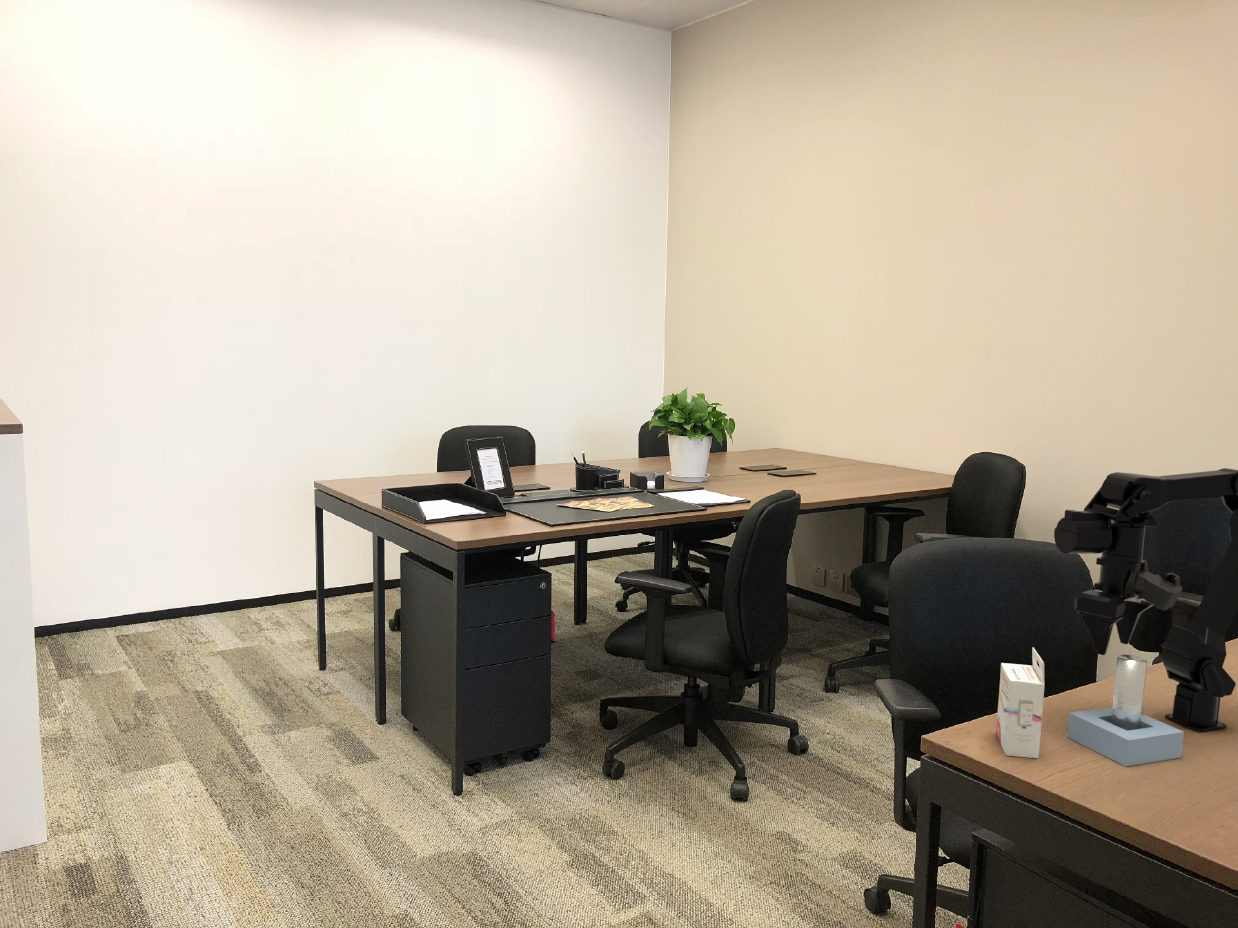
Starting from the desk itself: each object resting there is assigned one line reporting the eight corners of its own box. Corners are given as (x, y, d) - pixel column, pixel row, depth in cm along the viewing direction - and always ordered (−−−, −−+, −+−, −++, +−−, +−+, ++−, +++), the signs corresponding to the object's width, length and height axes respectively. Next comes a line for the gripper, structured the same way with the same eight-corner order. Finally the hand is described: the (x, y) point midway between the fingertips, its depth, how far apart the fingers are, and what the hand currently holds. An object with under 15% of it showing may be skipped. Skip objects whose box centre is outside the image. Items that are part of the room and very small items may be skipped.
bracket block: (1120, 729, 154) (1122, 705, 153) (1181, 757, 144) (1184, 731, 143) (1067, 736, 150) (1069, 712, 149) (1125, 766, 140) (1128, 740, 139)
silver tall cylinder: (1122, 740, 149) (1130, 653, 148) (1144, 750, 146) (1153, 661, 144) (1102, 743, 148) (1111, 655, 146) (1124, 753, 144) (1133, 664, 142)
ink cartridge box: (993, 733, 151) (1001, 642, 149) (1027, 737, 150) (1035, 645, 148) (1004, 756, 142) (1012, 660, 140) (1039, 759, 141) (1048, 663, 139)
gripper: (1155, 570, 139) (1145, 674, 141) (1199, 555, 151) (1189, 650, 153) (1077, 556, 147) (1068, 655, 149) (1124, 543, 160) (1116, 633, 162)
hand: (1113, 648), depth 153 cm, fingers open, 9 cm apart
